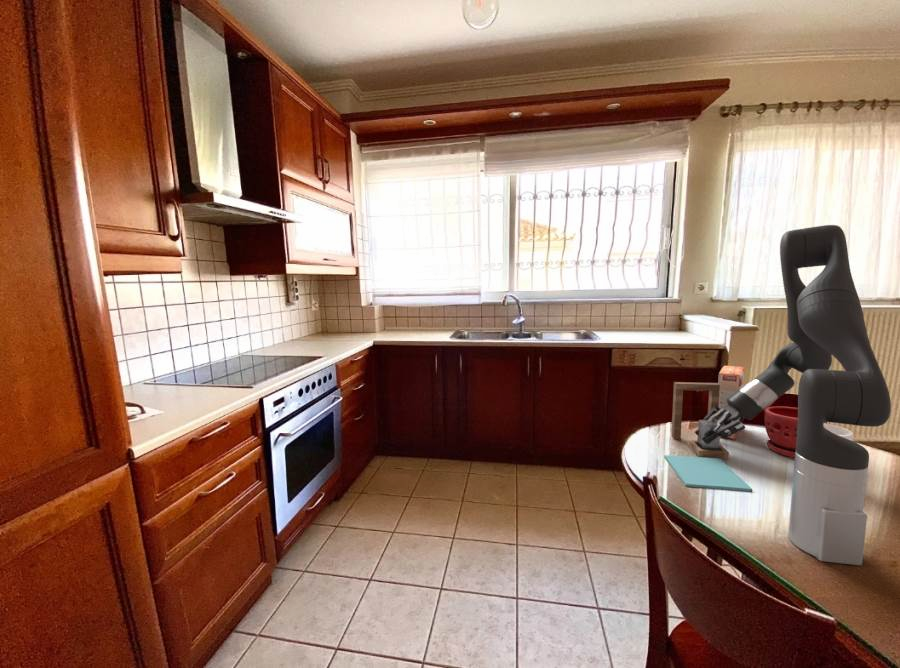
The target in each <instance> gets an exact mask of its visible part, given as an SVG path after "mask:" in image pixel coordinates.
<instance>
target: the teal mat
mask: <svg viewBox="0 0 900 668" xmlns="http://www.w3.org/2000/svg"><path fill="white" fill-rule="evenodd" d="M663 458H664V459H665V460H666V461H667V463H668V464H669V466H670V467H671V469H672V470H673V471H674V473H675V475H677V476H678V478H679V479H680V480H681V482H682V483H683V485H684V486H685V487H694V488H704V489H705V488H707V489H719V490H730V491H731V490H732V491H733V490H734V491H743V492H744V491H745V492H753V488H752V487H751V486H750V485H749V484H748V483H747V482H746V481H744V480H743V479H742V478H741V476H739V475H738V474H737V472H735V471H734V470H733V469H732V468H731V467H729V465H728V464H726V463H725V462H724V461H723V459H719V458H703V457H698V456H685V455H684V456H682V455H672V454H671V455H670V454H669V455H668V454H664V456H663Z"/></svg>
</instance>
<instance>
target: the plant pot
mask: <svg viewBox="0 0 900 668" xmlns="http://www.w3.org/2000/svg"><path fill="white" fill-rule="evenodd" d="M824 423H826V424H828V422H824ZM797 425H798V407H791V406H769V407H768V408H766V409H765V410H764V427H765V431H766V435H767V436H768V440H767V441H766V443H767V446H768V448H770V450H772V451H774V453H778V454H780V455H783V456H786V457H789V458H790V457H791V458H794V459H795V453H796V441H797Z"/></svg>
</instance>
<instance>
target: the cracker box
mask: <svg viewBox="0 0 900 668" xmlns="http://www.w3.org/2000/svg"><path fill="white" fill-rule="evenodd" d="M744 377H745V367H742V366H735V365H734V366H733V365H723V367H722V368H721V370H720V371H719V373H718V382H717V383H718V384H720V391H719V408H723V407H725V406H726V405H728V403H727V401H726V400H727V398H729V397H730V396H731V395H732V394H734V393H735V392H736V391H738V390H739V389H740V388H741V387H743V386H744V379H745V378H744ZM720 428H721V427H720ZM726 433H727V432H726ZM738 433H739V432H737V433H735V434H733V435H731V436H729V437H727V438H726V439H729V440H735V441H736V439H737V436H738ZM721 438H724V437H723V436H722V437H721Z"/></svg>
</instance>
